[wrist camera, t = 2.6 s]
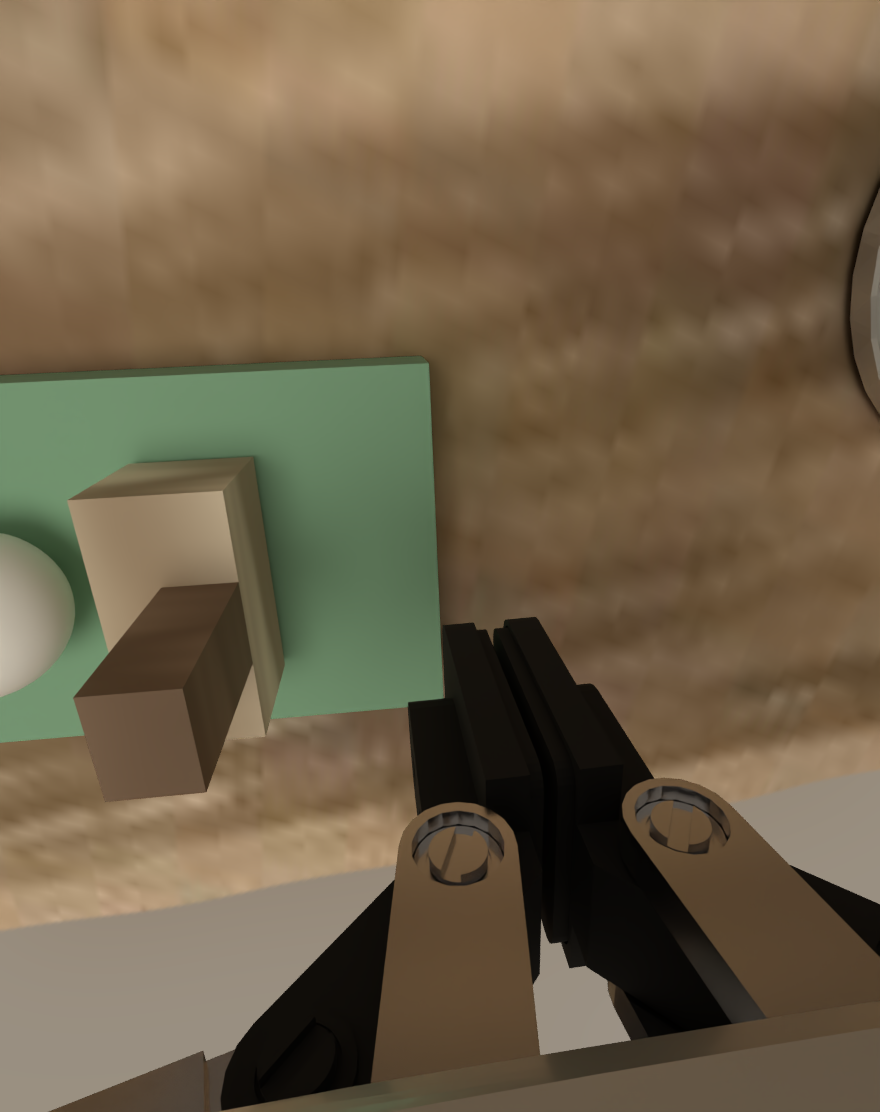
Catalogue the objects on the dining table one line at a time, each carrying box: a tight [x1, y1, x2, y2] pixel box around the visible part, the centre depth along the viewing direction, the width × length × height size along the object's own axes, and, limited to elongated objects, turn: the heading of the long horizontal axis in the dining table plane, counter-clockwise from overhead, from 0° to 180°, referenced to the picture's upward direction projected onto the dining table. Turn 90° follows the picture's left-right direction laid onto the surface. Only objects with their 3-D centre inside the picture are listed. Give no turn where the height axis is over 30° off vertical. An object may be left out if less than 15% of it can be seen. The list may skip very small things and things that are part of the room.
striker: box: [67, 457, 285, 802], centre depth 13 cm, size 3×6×7 cm, turn 2°
